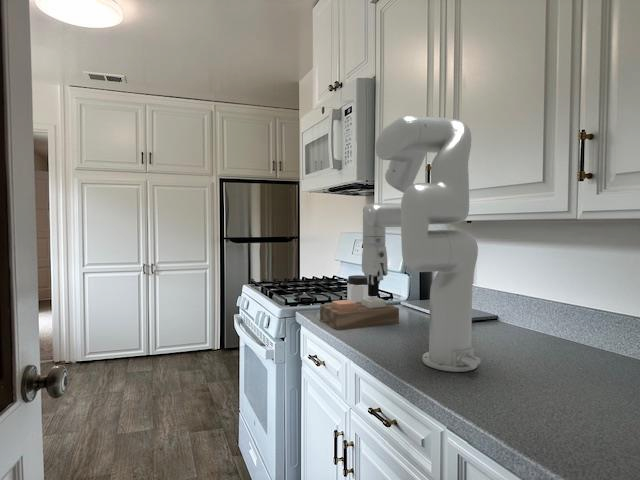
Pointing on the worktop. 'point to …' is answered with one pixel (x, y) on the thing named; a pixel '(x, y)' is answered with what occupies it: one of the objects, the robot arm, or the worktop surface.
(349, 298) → the jar
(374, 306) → the offwhite key
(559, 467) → the worktop surface
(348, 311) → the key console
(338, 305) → the terracotta key
